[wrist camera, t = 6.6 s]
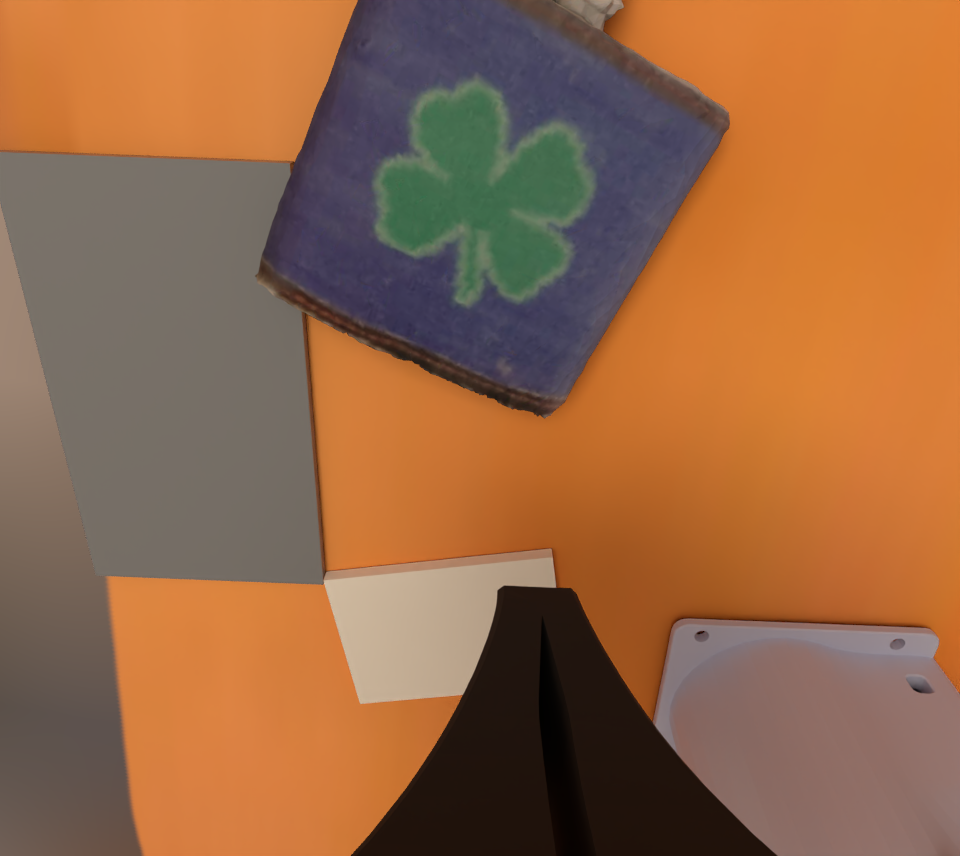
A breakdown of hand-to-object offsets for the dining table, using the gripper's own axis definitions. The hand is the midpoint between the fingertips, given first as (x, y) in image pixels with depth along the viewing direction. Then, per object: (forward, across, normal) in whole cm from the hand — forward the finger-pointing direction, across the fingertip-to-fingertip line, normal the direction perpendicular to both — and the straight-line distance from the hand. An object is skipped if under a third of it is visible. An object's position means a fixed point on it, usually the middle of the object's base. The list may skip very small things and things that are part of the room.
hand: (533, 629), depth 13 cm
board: (+10, +10, 0) cm, 15 cm away
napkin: (+10, +2, +9) cm, 14 cm away
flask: (+9, +3, -2) cm, 9 cm away
